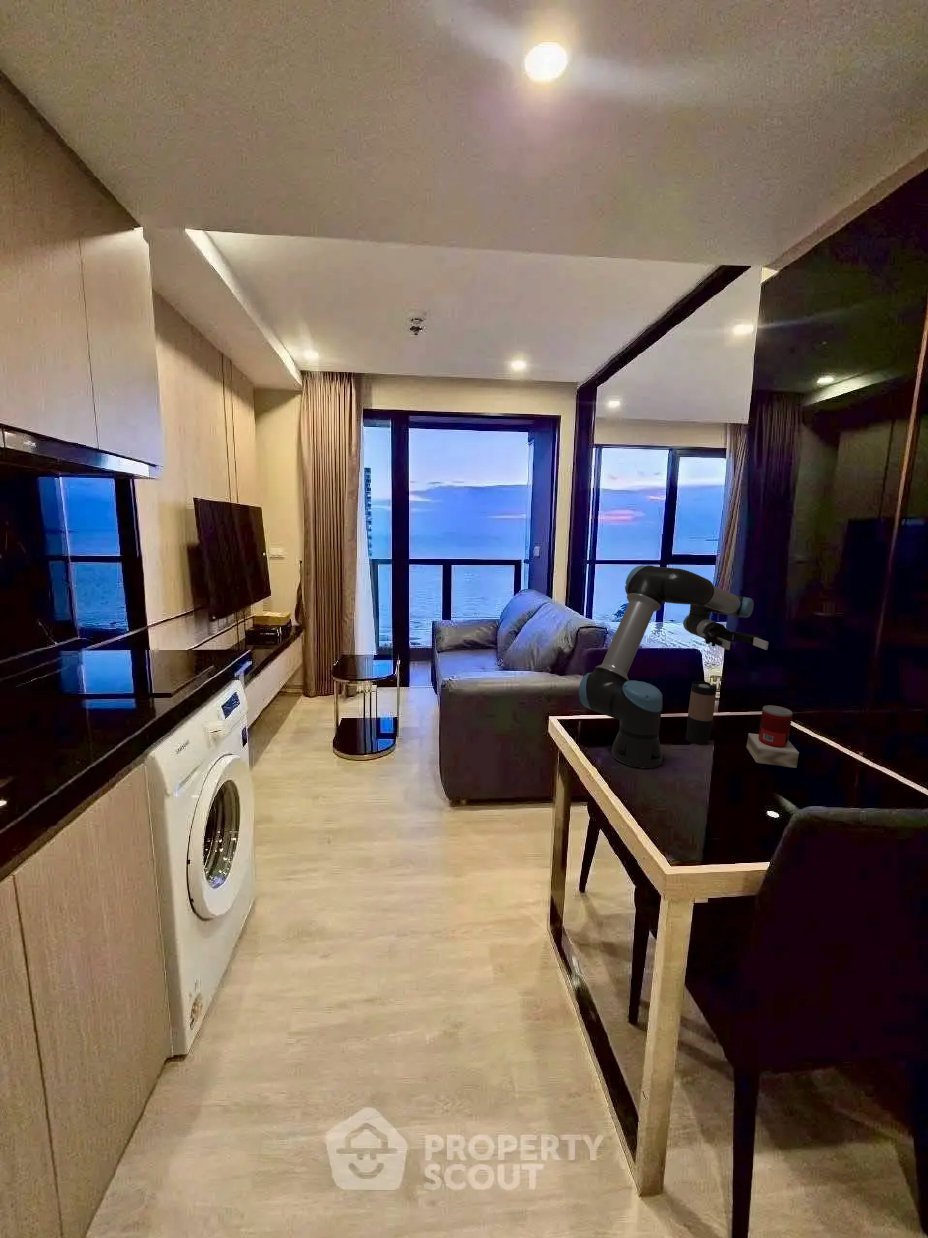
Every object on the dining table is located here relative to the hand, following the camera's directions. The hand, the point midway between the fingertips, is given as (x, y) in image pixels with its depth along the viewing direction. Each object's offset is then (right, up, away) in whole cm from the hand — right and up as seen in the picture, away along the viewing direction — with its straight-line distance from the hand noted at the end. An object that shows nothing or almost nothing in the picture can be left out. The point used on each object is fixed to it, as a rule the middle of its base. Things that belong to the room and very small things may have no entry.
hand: (748, 645), depth 169 cm
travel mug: (-17, -32, +1) cm, 37 cm away
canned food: (+1, -30, -11) cm, 32 cm away
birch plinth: (+1, -35, -10) cm, 36 cm away
